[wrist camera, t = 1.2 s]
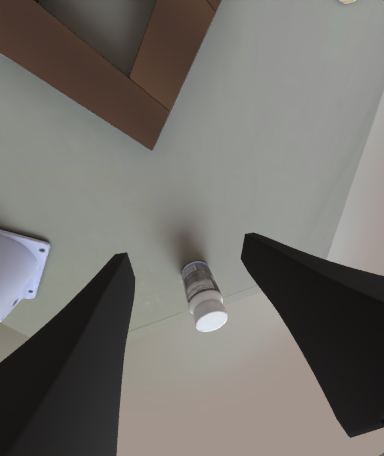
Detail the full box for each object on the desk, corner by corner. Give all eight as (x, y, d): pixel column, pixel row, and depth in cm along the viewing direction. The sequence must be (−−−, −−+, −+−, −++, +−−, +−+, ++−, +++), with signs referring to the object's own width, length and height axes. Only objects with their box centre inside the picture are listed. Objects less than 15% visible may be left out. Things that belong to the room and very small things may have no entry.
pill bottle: (207, 278, 26) (228, 328, 18) (181, 283, 25) (192, 338, 17) (209, 258, 23) (233, 306, 16) (180, 262, 22) (193, 315, 15)
